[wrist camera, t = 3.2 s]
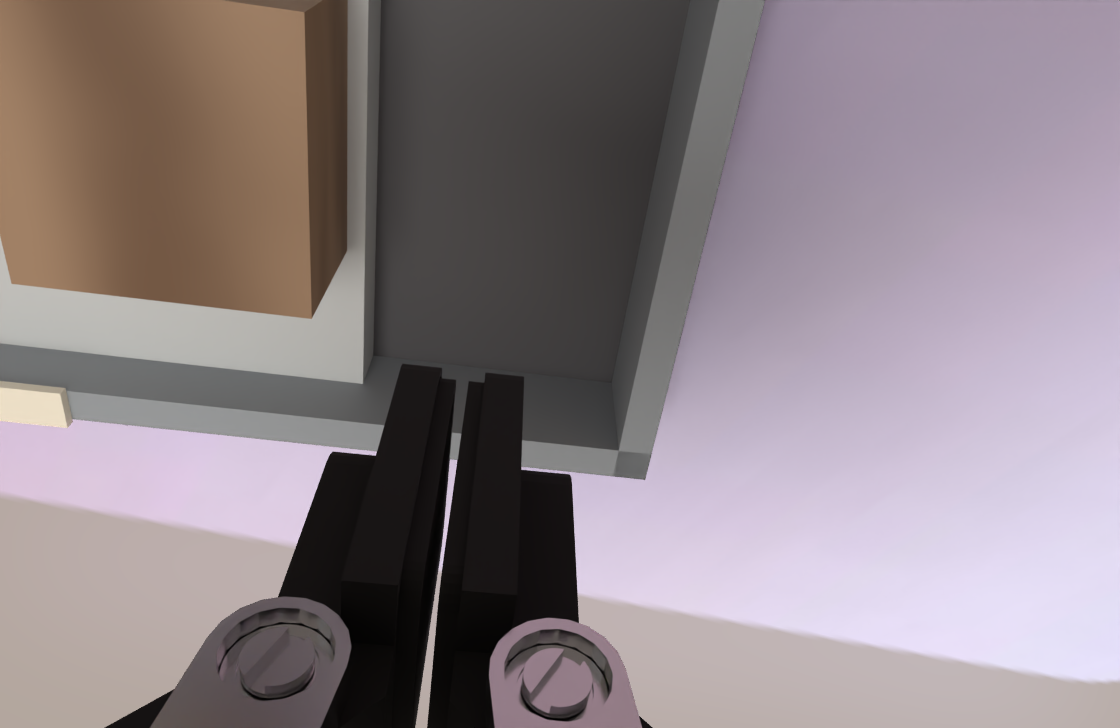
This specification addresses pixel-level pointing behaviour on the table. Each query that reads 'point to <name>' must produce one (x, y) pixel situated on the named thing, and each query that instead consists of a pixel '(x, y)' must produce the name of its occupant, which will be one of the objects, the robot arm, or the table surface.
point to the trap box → (452, 242)
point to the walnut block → (176, 149)
